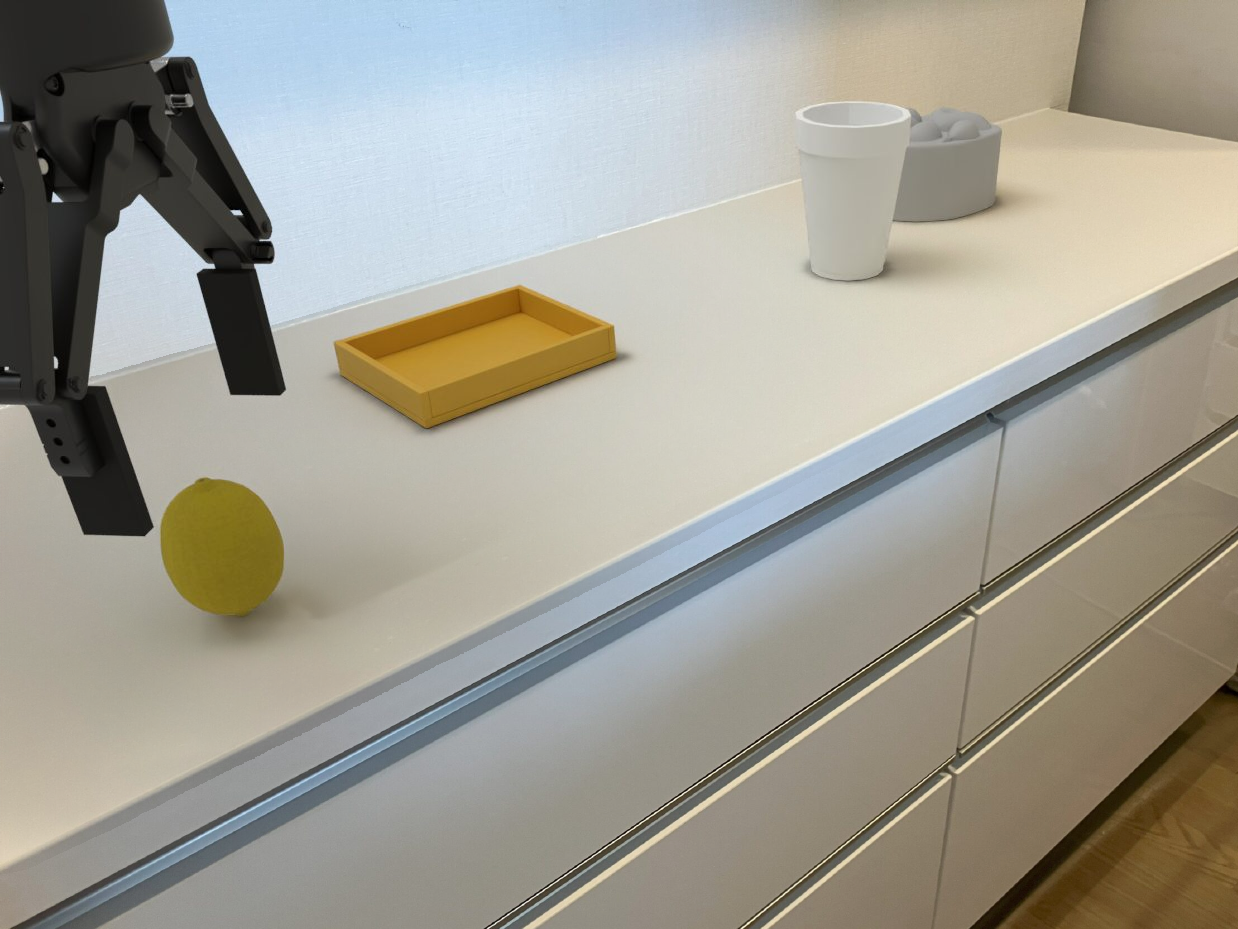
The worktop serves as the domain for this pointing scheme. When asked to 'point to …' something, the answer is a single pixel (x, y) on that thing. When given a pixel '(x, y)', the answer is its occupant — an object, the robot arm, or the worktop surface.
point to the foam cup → (850, 183)
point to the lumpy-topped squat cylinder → (948, 166)
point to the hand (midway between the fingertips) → (196, 455)
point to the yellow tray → (474, 353)
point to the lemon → (221, 547)
